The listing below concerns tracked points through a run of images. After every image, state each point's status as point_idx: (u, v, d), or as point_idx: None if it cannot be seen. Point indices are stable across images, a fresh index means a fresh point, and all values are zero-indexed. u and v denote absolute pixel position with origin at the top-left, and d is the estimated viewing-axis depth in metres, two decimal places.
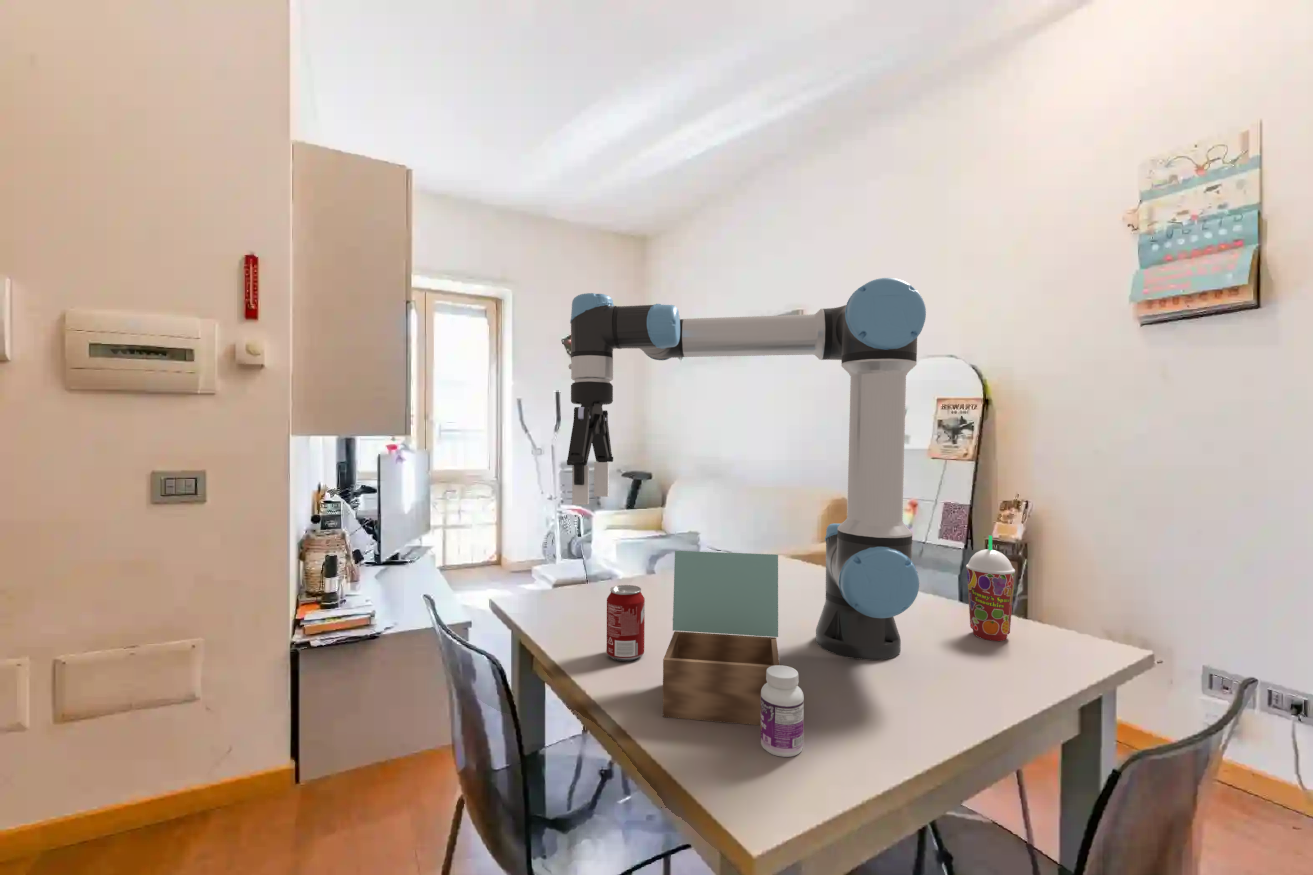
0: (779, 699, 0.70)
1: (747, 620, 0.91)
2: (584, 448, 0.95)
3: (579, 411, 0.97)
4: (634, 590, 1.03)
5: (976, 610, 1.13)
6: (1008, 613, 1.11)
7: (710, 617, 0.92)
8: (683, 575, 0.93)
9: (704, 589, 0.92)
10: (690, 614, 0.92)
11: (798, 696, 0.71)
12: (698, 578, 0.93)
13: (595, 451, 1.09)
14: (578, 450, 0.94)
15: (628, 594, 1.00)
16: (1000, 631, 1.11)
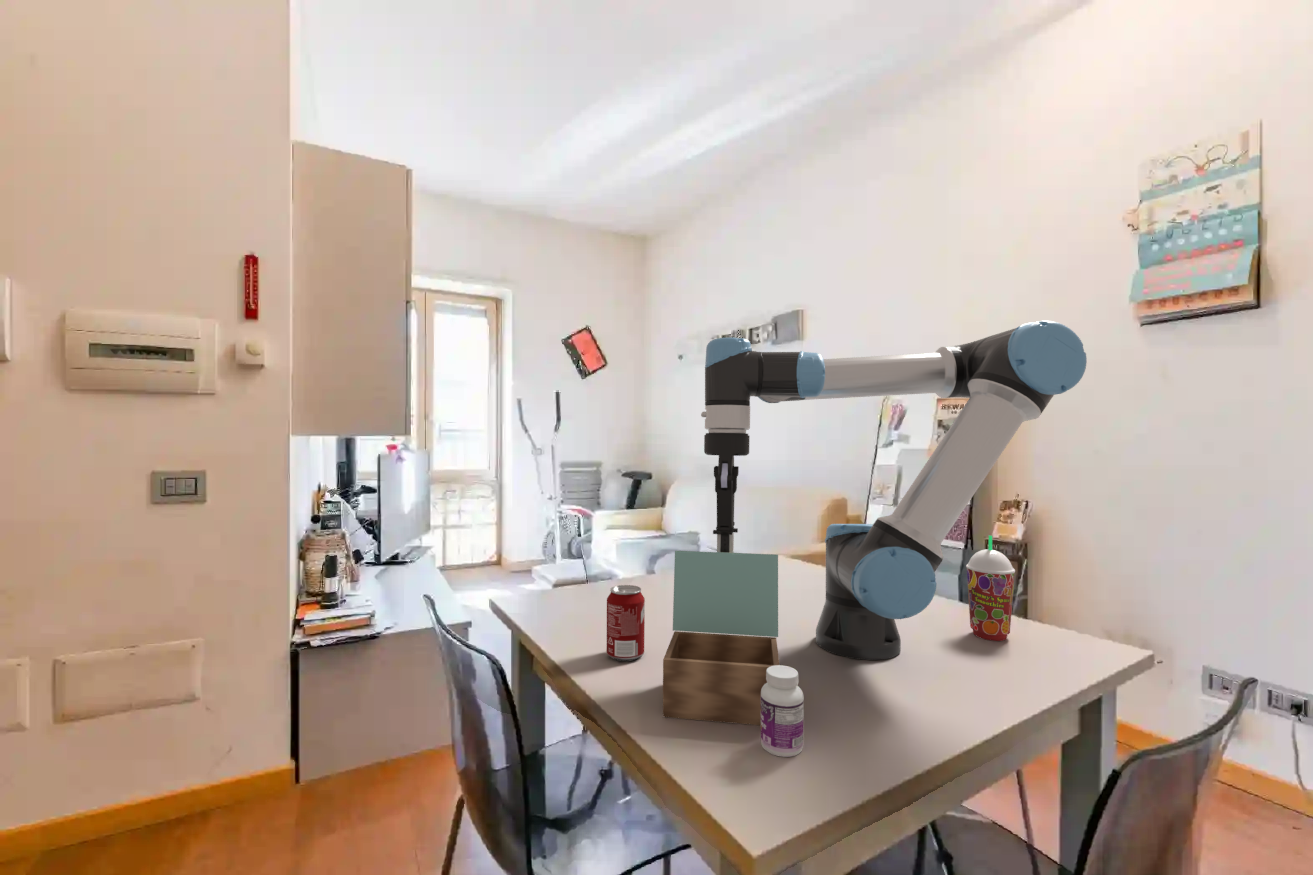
0: (779, 699, 0.70)
1: (747, 620, 0.91)
2: (732, 518, 0.92)
3: (722, 482, 0.90)
4: (634, 590, 1.03)
5: (976, 610, 1.13)
6: (1008, 613, 1.11)
7: (710, 617, 0.92)
8: (683, 575, 0.93)
9: (704, 589, 0.92)
10: (690, 614, 0.92)
11: (798, 696, 0.71)
12: (698, 578, 0.93)
13: None
14: (727, 523, 0.92)
15: (628, 594, 1.00)
16: (1000, 631, 1.11)
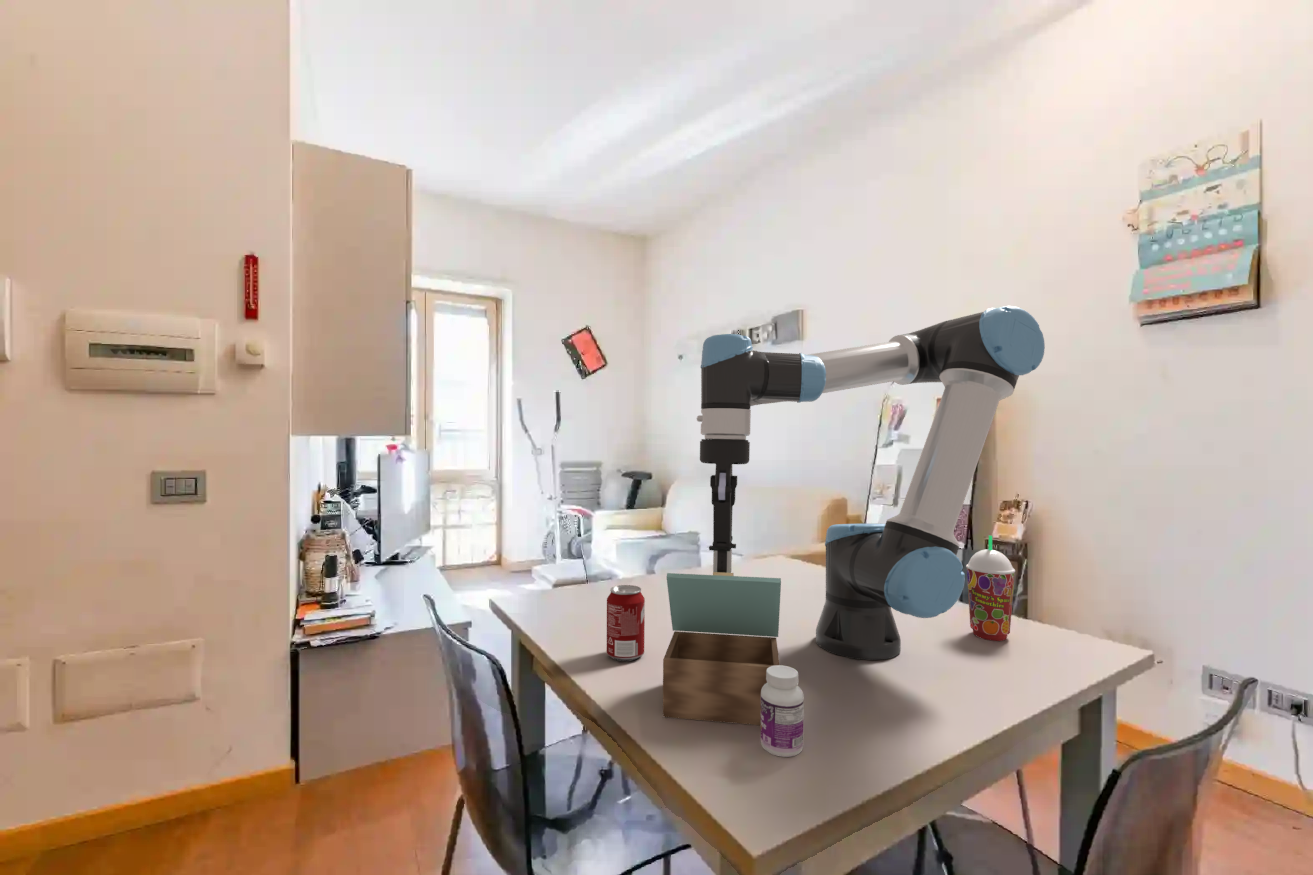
0: (779, 699, 0.70)
1: (747, 626, 0.89)
2: (730, 533, 0.84)
3: (720, 494, 0.82)
4: (634, 590, 1.03)
5: (976, 610, 1.13)
6: (1008, 613, 1.11)
7: (709, 623, 0.90)
8: (678, 595, 0.87)
9: (701, 605, 0.88)
10: (689, 621, 0.90)
11: (798, 696, 0.71)
12: (694, 597, 0.87)
13: None
14: (724, 539, 0.84)
15: (628, 594, 1.00)
16: (1000, 631, 1.11)
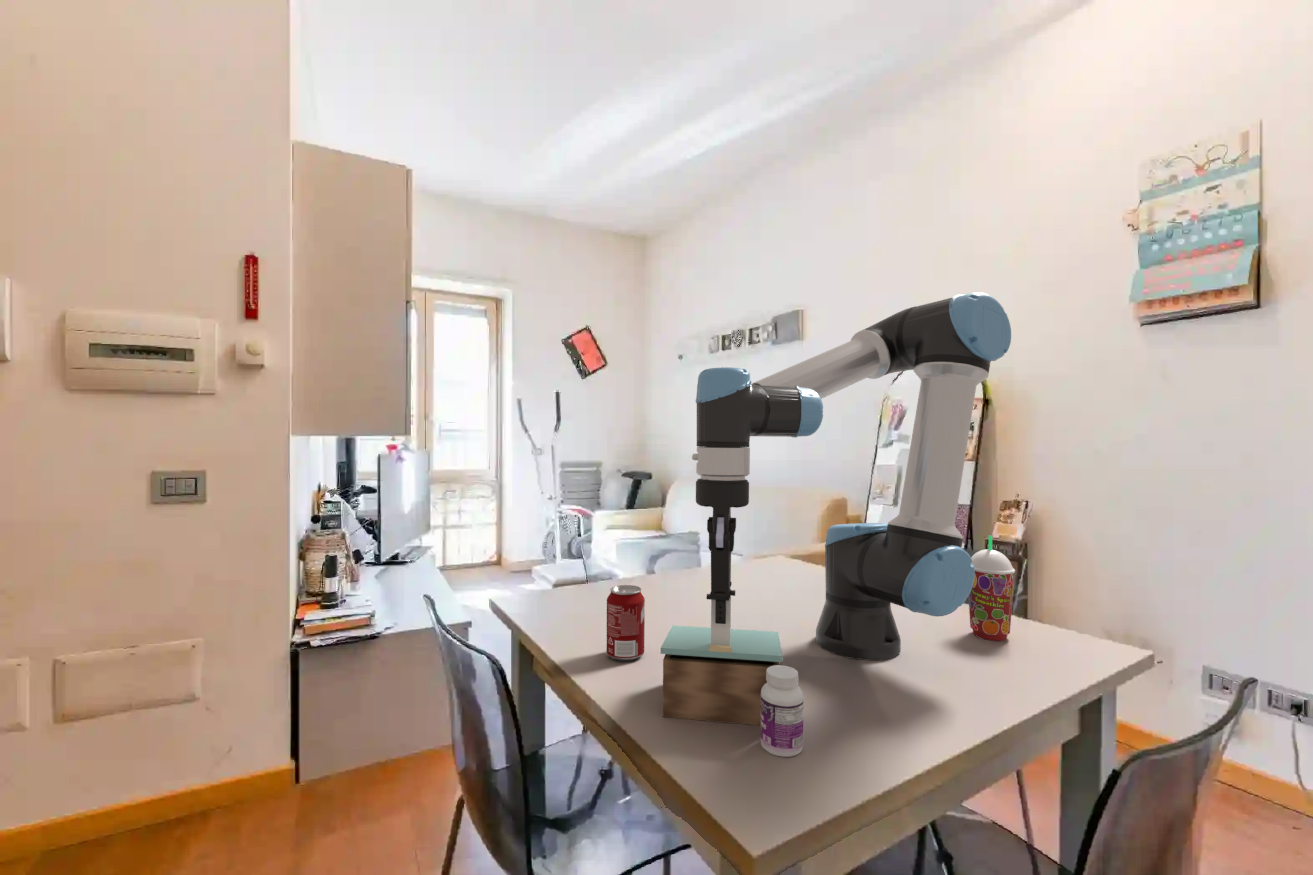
0: (779, 699, 0.70)
1: None
2: None
3: (718, 542, 0.76)
4: (634, 590, 1.03)
5: (976, 610, 1.13)
6: (1008, 613, 1.11)
7: None
8: None
9: None
10: None
11: (798, 696, 0.71)
12: None
13: None
14: (723, 589, 0.78)
15: (628, 594, 1.00)
16: (1000, 631, 1.11)
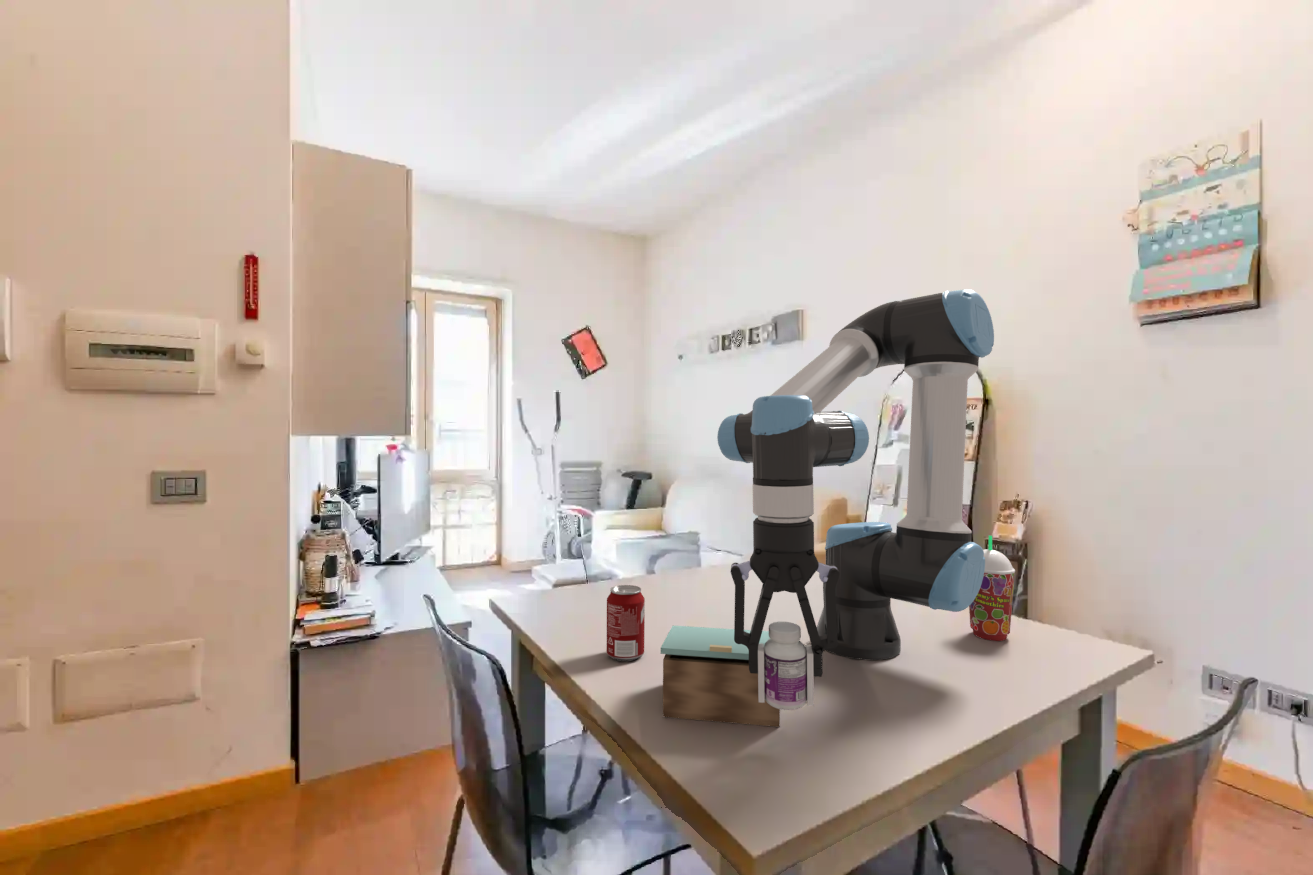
0: (782, 653, 0.71)
1: None
2: (739, 625, 0.73)
3: None
4: (634, 590, 1.03)
5: (976, 610, 1.13)
6: (1008, 613, 1.11)
7: None
8: None
9: None
10: None
11: (801, 650, 0.71)
12: None
13: None
14: None
15: (628, 594, 1.00)
16: (1000, 631, 1.11)
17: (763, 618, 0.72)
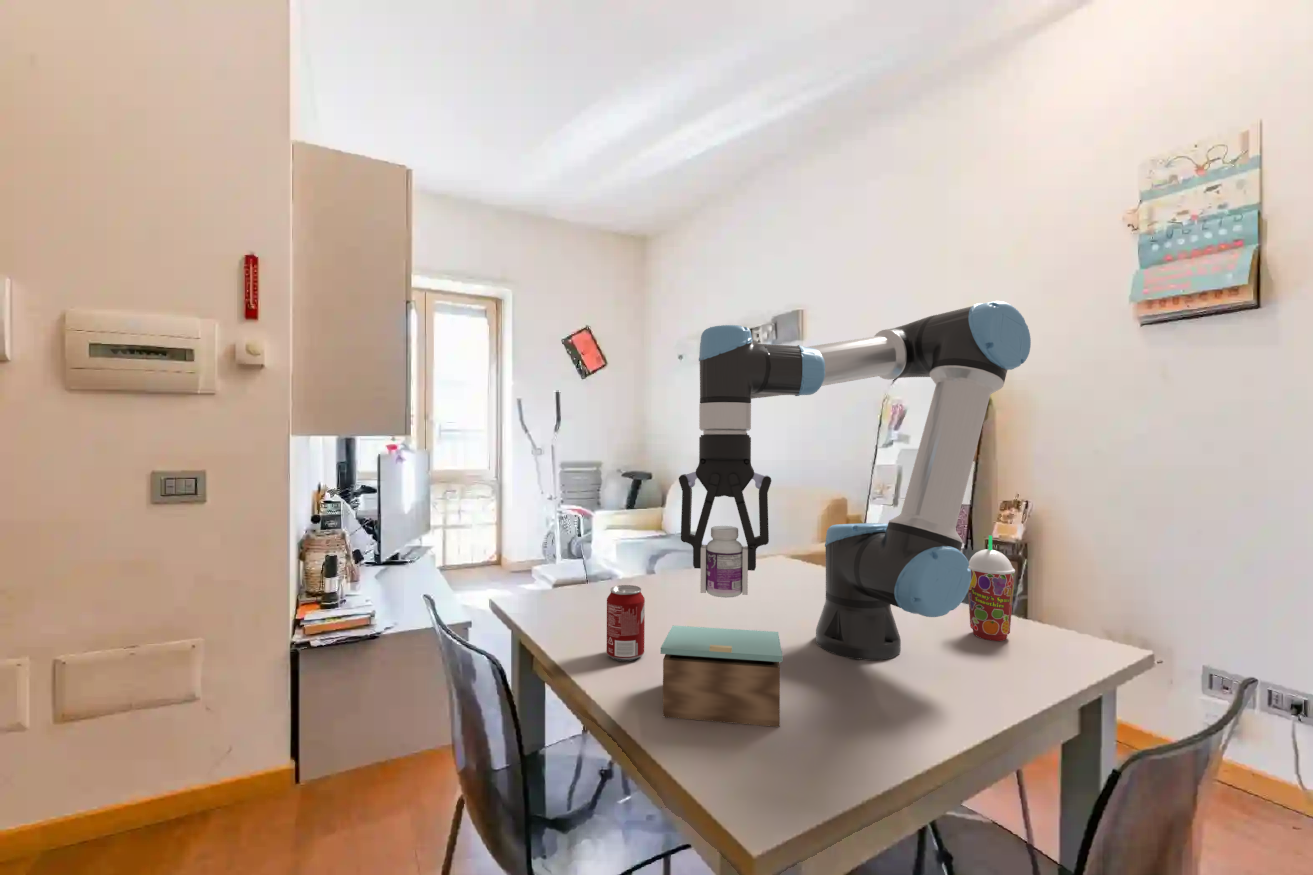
0: (721, 548, 0.82)
1: None
2: (685, 525, 0.84)
3: None
4: (634, 590, 1.03)
5: (976, 610, 1.13)
6: (1008, 613, 1.11)
7: None
8: None
9: None
10: None
11: (737, 546, 0.82)
12: None
13: None
14: None
15: (628, 594, 1.00)
16: (1000, 631, 1.11)
17: (706, 519, 0.83)
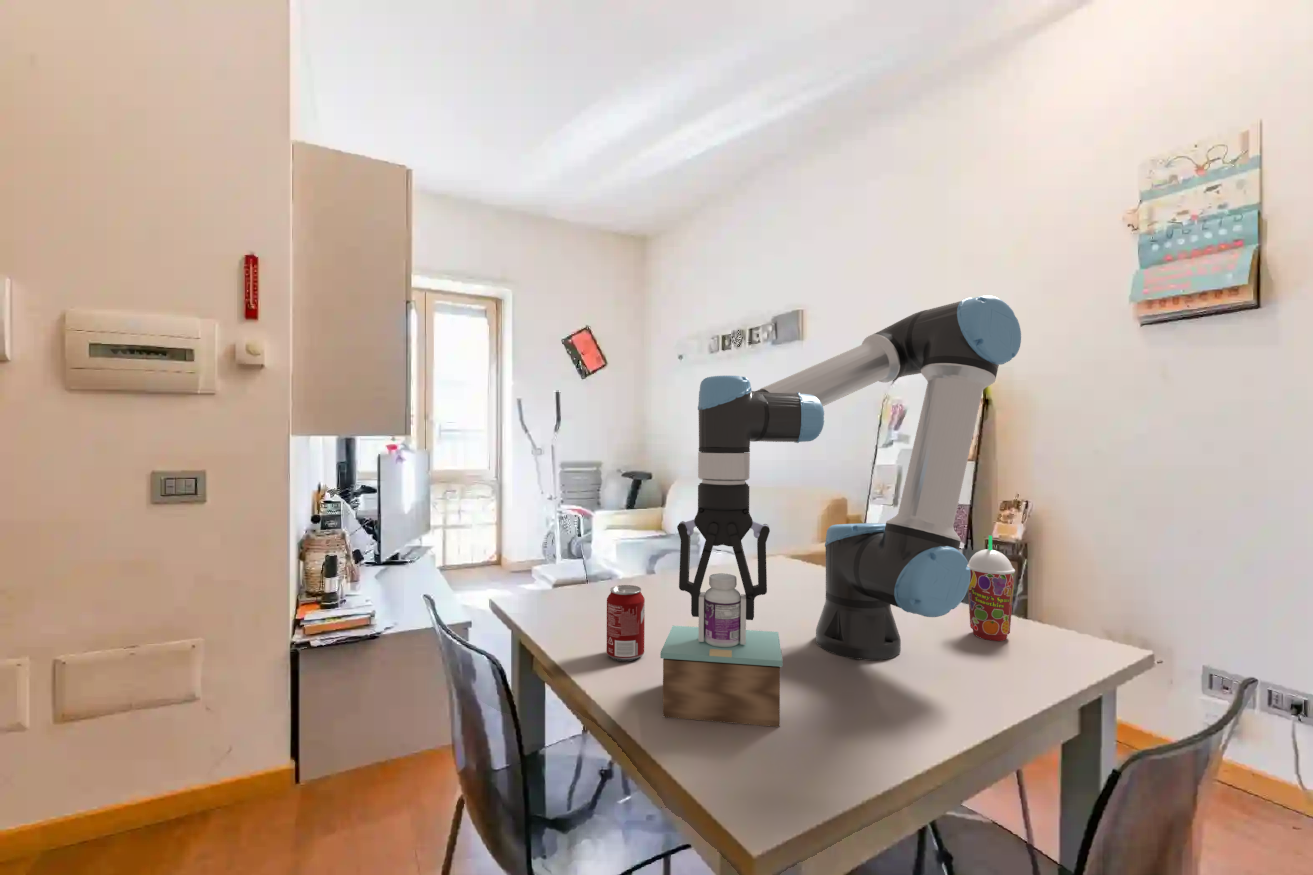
0: (719, 597, 0.82)
1: None
2: (683, 574, 0.84)
3: None
4: (634, 590, 1.03)
5: (976, 610, 1.13)
6: (1008, 613, 1.11)
7: None
8: None
9: None
10: None
11: (735, 595, 0.82)
12: None
13: None
14: None
15: (628, 594, 1.00)
16: (1000, 631, 1.11)
17: (704, 568, 0.84)
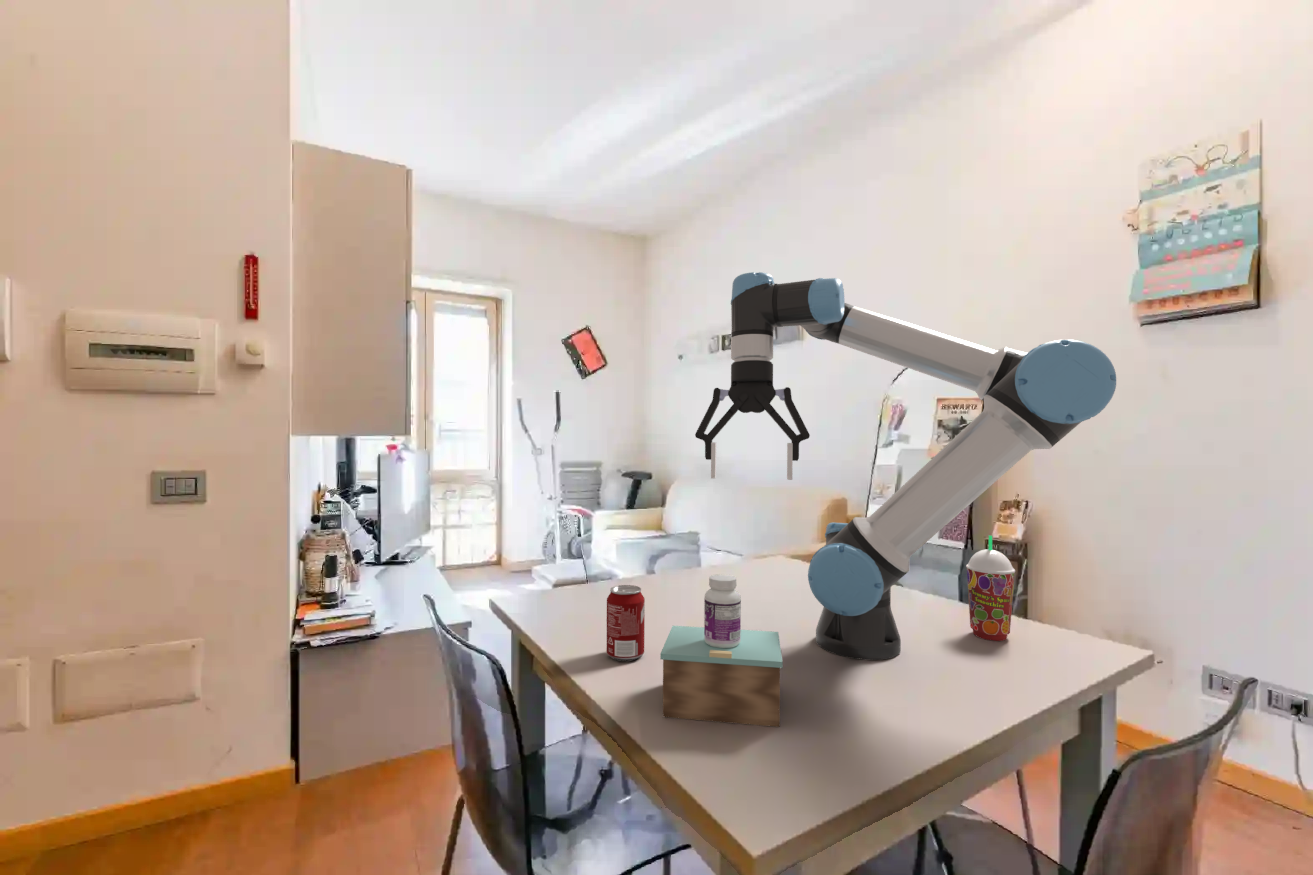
0: (718, 598, 0.82)
1: None
2: (702, 426, 1.04)
3: None
4: (634, 590, 1.03)
5: (976, 610, 1.13)
6: (1008, 613, 1.11)
7: None
8: None
9: None
10: None
11: (735, 596, 0.83)
12: None
13: None
14: None
15: (628, 594, 1.00)
16: (1000, 631, 1.11)
17: (722, 424, 1.04)
